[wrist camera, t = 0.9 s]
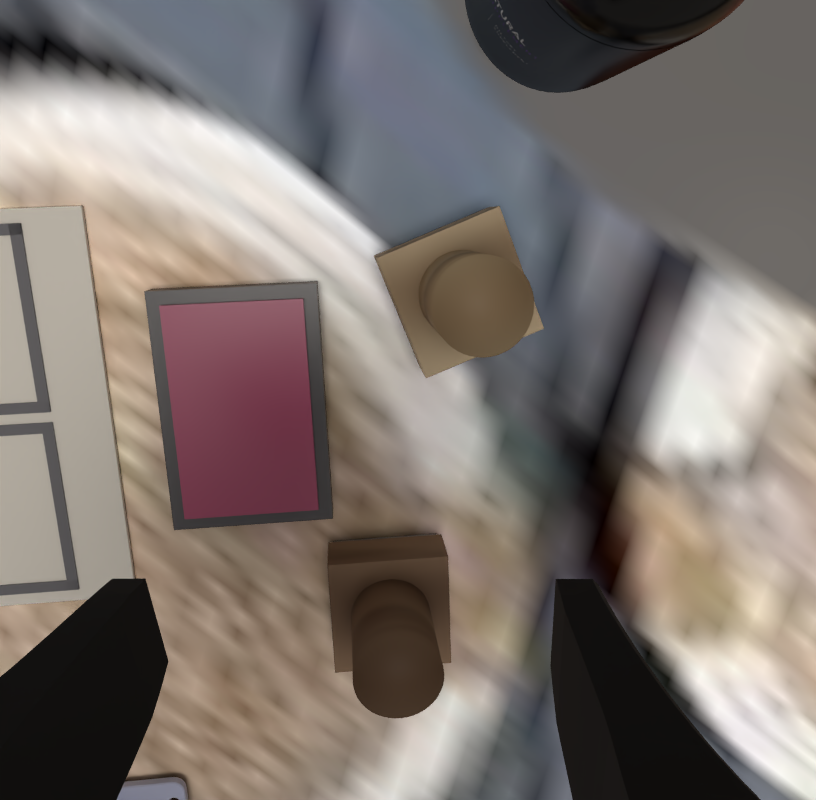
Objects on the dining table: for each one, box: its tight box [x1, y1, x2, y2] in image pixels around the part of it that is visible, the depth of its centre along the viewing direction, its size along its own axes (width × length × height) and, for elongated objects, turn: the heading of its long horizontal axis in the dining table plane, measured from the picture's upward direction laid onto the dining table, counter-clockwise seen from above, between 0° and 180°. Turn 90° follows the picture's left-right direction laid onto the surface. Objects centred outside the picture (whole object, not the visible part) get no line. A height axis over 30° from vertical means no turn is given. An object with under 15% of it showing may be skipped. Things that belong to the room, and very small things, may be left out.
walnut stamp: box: [328, 534, 451, 718], centre depth 27 cm, size 4×4×6 cm
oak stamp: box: [374, 206, 544, 378], centre depth 25 cm, size 4×4×6 cm
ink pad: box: [144, 281, 333, 530], centre depth 28 cm, size 9×6×1 cm, turn 2°
